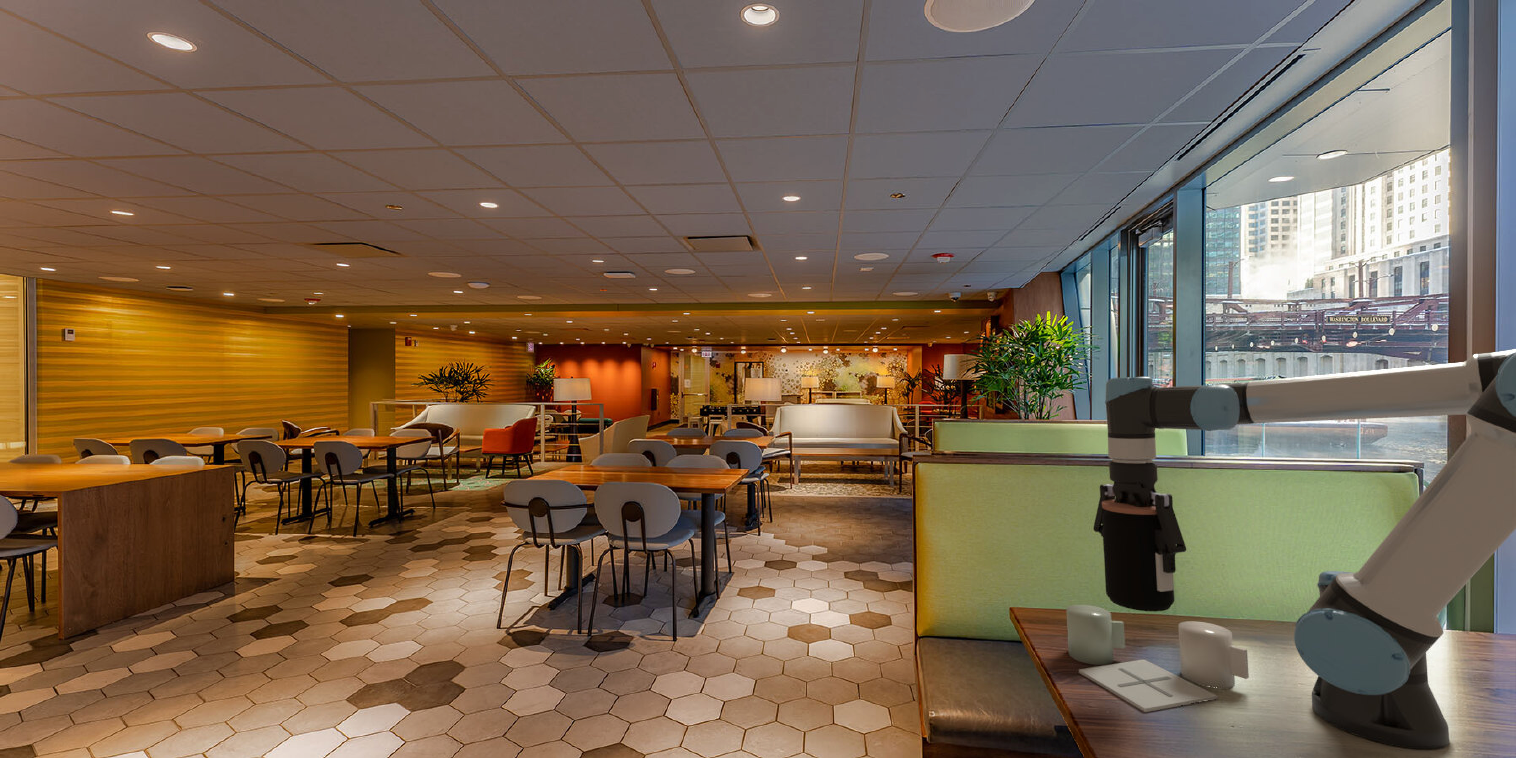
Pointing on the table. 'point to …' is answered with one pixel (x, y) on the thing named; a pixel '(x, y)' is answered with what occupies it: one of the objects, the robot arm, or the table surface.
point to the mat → (1146, 685)
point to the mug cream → (1210, 655)
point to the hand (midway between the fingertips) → (1138, 580)
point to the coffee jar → (1132, 557)
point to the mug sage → (1093, 634)
